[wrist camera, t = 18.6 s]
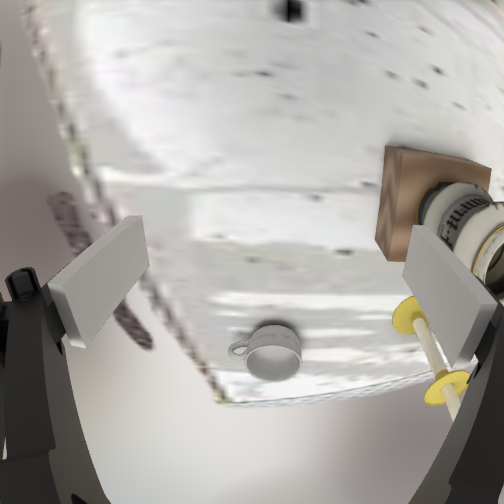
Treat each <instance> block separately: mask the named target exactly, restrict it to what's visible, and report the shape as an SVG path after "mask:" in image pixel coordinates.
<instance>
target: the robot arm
mask: <svg viewBox="0 0 504 504" xmlns="http://www.w3.org/2000/svg"><path fill="white" fill-rule="evenodd" d="M149 265H150V264H149V259H148V253H147V247H146V240H145V234H144V227H143V220H142V216H128V217H126V218H125V219H124V220H122V221H121V222H120V223H118V224H117V225H116V226H115V227H113V228H112V229H111V230H110V231H108V232H107V233H106V234H104V235H103V236H102V237H101V238H99V239H98V240H97V241H96V242H95V243H93V244H92V245H91V246H90V247H88V248H87V249H86V250H85V251H84V252H82V253H81V254H80V255H79V256H78V257H76V258H75V259H74V260H73V261H72V262H70V263H69V264H67V265H66V266H65V267H64V268H63V269H62V270H61V271H59V272H58V273H57V275H55V276H54V277H53V278H52V279H50V280H49V281H48V282H47V283H46V284H45V285H44V286H43V287H42V288H40V285H39V282H38V279H37V276H36V273H35V270H34V268H32V267H26V268H21V269H19V270H16V271H14V272H13V273H11V274H10V275H9V276H7V278H6V279H5V283H6V285H7V288H8V291H9V293H10V296H11V298H12V301H9V302H4V300H3V298H2V295H1V293H0V504H111V503H110V502H109V500H108V499H107V498H106V495H105V494H104V491H103V489H102V487H101V484H100V482H99V479H98V476H97V474H96V471H95V468H94V465H93V463H92V460H91V457H90V454H89V450H88V448H87V444H86V441H85V438H84V434H83V431H82V428H81V424H80V420H79V416H78V412H77V408H76V404H75V400H74V396H73V391H72V386H71V382H70V377H69V371H68V366H67V360H66V354H65V347H64V345H63V342H62V340H61V338H62V337H63V336H64V335H65V333H66V334H67V336H68V339H69V341H70V343H71V345H74V346H77V347H81V348H87V347H88V345H89V344H90V343H91V341H92V340H93V339H94V337H95V336H96V334H97V333H98V332H99V330H100V329H101V327H102V326H103V325H104V324H105V322H106V320H107V319H108V318H109V317H110V315H111V314H112V313H113V311H114V310H115V309H116V307H117V306H118V305H119V304H120V302H121V301H122V300H123V298H124V297H125V296H126V294H127V293H128V292H129V291H130V289H131V288H132V286H133V285H134V284H135V283H136V282H137V280H138V279H139V278H140V277H141V275H142V274H143V273H144V271H145V270H146V269H147V268H148V267H149ZM402 276H403V277H404V279H405V281H406V282H407V284H408V286H409V288H410V289H411V291H412V293H413V295H414V296H415V298H416V300H417V302H418V304H419V305H420V307H421V309H422V311H423V313H424V315H425V316H426V318H427V320H428V322H429V324H430V326H431V328H432V330H433V332H434V334H435V336H436V338H437V340H438V342H439V344H440V346H441V348H442V350H443V352H444V354H445V356H446V358H447V360H448V362H449V364H450V367H451V369H455V368H462V367H468V365H469V363H470V362H471V360H472V358H473V356H474V354H475V355H476V357H477V359H478V363H477V365H476V367H475V368H474V370H473V372H472V374H471V375H470V377H469V379H468V380H467V382H466V384H469V385H468V388H467V391H466V393H465V396H464V399H463V401H462V403H461V406H460V408H459V411H458V413H457V415H456V418H455V420H454V422H453V425H452V427H451V429H450V431H449V433H448V435H447V438H446V439H445V441H444V444H443V445H442V447H441V449H440V451H439V453H438V455H437V457H436V459H435V461H434V462H433V464H432V466H431V468H430V470H429V472H428V473H427V475H426V476H425V478H424V480H423V481H422V483H421V485H420V486H419V488H418V490H417V491H416V493H415V494H414V496H413V497H412V499H411V500H410V502H409V503H408V504H498V498H499V495H500V493H501V490H502V487H503V484H504V306H503V305H502V303H501V302H500V301H499V300H498V298H497V297H496V296H495V295H494V294H493V293H492V291H491V290H490V289H489V288H488V287H487V285H486V284H485V283H484V282H483V281H482V280H481V279H480V278H479V277H477V276H476V275H474V274H473V273H471V272H470V270H469V269H468V268H467V267H466V266H465V265H464V264H463V263H462V262H461V261H460V259H459V258H458V257H457V256H456V255H455V254H454V253H453V252H452V251H451V250H450V249H449V248H448V247H447V246H446V245H445V244H444V243H443V242H442V241H441V240H440V239H439V238H438V237H437V236H436V235H435V234H434V233H433V232H432V231H431V230H430V229H429V228H428V227H427V226H422V225H413V228H412V233H411V238H410V243H409V248H408V253H407V258H406V262H405V267H404V271H403V275H402ZM469 382H470V383H469ZM5 437H6V449H7V458H6V459H4V460H2V458H3V450H4V442H5Z"/></svg>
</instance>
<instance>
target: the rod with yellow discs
mask: <svg viewBox="0 0 504 504" xmlns="http://www.w3.org/2000/svg"><path fill="white" fill-rule="evenodd" d="M392 319H393V326H394V327H395V329H396V331H398V332H400V333H402V334H413V333H417V336H418V338H419V340H420V342H421V345H422V347H423V349H424V351H425V354H426V356H427V358H428V361H429V363H430V366H431V368H432V371H433V373H434V375H435V378H436V380H435V381H434V382H433V383H432V384H431V385H430V386H429V387H428V389H427V391H426V392H425V396H424V400H425V402H426V403H427V404H429V405H432V406H436V405H442V404H445V403H446V404H447V406H448V409H449V412H450V415H451V418H452V420H453V422H454V420H455V418H456V415H457V413H458V411H459V408H460V406H461V403H460V401H459V398H458V396H459V395H460V394H461V393H463V392H464V390H465V389H466V388H467V387H468V385H469V384H466V382H467V380H468V379H469V377H470V375H469V373H468V372H466V371H464V370H455V371H452V372H448V369H447V367H446V365H445V363H444V361H443V358H442V356H441V354H440V352H439V350H438V348H437V346H436V344H435V342H434V340H433V337H432V335H431V333H430V331H429V329H428V327H427V326H428V325H429V322H428V320H427V318H426V316H425V315H424V313H423V311H422V309H421V307H420V305H419V304H418V302H417V300H416V298H415V296H412V297H409V298H408V299H406V300H404V301H403V302H401V304H400V305H399V306H398V307H397V308H396V309H395V312H394V315H393V317H392ZM469 383H470V382H469Z"/></svg>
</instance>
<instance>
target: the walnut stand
mask: <svg viewBox="0 0 504 504" xmlns="http://www.w3.org/2000/svg"><path fill="white" fill-rule="evenodd" d="M490 176H491V168H489V167H486V166H484V165H481V164H479V163H476V162H473V161H471V160H468V159H465V158H460V157H454V156H449V155H444V154H438V153H432V152H426V151H420V150H413V149H406V148H399V147H391V146H385V157H384V169H383V180H382V189H381V198H380V206H379V214H378V222H377V229H376V235H375V241H376V242H377V244H378V246H379V247H380V249H381V251H382V252H383V254H384V256H385V257H386V259H387V261H395V262H406V258H407V253H408V248H409V243H410V238H411V233H412V228H413V225H417V218H416V215H417V207H418V204H419V201H420V199H421V197H422V195H423V194H424V193H425V191H426V190H427V189H428V188H434V187H435V186H436V185H437V184H438V183H439V182H440V181H444V180H451V181H454V182H457V183H458V182H470V183H474V184H476V185H478V186H480V187H482V188H483V189H484V190H485V191H486V192H487V193H488V189H489V183H490Z"/></svg>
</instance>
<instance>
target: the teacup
mask: <svg viewBox="0 0 504 504" xmlns="http://www.w3.org/2000/svg"><path fill="white" fill-rule="evenodd" d="M246 346H247V349H246V350H245V351H244V353H242V354H236V353H234V352H233V351H234V350H235V349H237V348H240V347H246ZM228 353H229V356H230V358H231V359H233V360H236V361H241V360H245V361H244V364H245V368H246V370H247V371H248V373H249V374H251V375H252V376H253V377H255V378H257V379H259V380H262V381H267V382H282V381H286V380H289V379H291V378H293V377H294V376H296V375H297V374H298V373H299V372H300V370H301V368H302V359H301V345H300V341H299V338H298V337H297V335H296V334H295V333H294V332H293V331H292V330H290V329H288V328H286V327H283V326H279V325H269V326H265V327H262V328H260V329H258V330H257V331H255V332H254V333H253V334H252V336H251V338H248V339H246V340H243V341H239V342H236V343H233V344H232V345H231V346H230V347H229V350H228Z"/></svg>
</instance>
